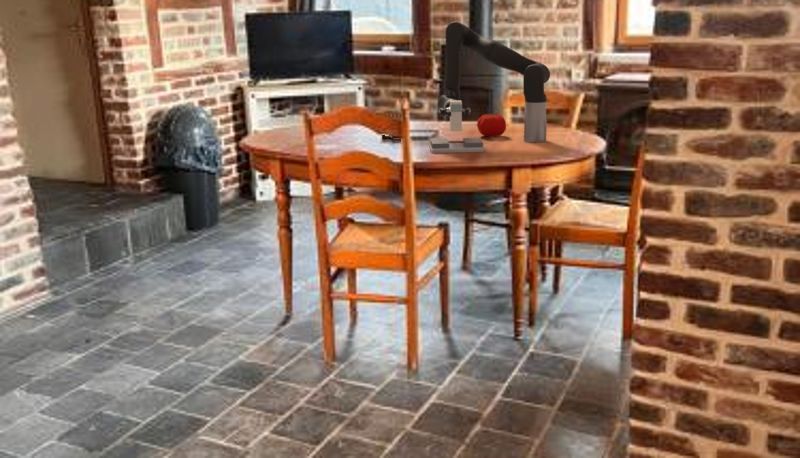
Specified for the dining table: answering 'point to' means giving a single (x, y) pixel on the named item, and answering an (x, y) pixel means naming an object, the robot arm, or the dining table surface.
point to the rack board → (456, 145)
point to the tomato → (491, 125)
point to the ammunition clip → (389, 136)
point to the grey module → (456, 115)
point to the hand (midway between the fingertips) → (456, 114)
